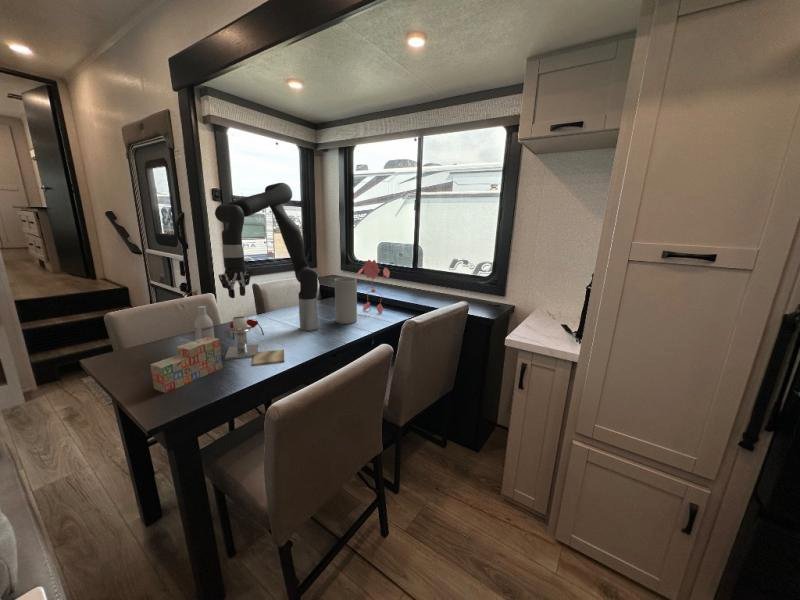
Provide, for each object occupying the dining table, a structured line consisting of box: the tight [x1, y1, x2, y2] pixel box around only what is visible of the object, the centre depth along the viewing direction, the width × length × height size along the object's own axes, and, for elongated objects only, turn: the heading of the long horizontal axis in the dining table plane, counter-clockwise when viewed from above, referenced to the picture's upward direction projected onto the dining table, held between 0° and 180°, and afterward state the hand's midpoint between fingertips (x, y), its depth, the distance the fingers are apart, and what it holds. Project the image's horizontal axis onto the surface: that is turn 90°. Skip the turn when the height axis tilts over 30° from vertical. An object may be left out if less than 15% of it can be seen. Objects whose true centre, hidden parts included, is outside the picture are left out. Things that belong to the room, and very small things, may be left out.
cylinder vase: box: [334, 277, 358, 325], centre depth 184 cm, size 12×12×25 cm
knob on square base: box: [224, 326, 259, 361], centre depth 136 cm, size 12×12×11 cm
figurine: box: [355, 259, 391, 318], centre depth 199 cm, size 15×26×35 cm, turn 61°
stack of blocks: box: [150, 337, 223, 394], centre depth 114 cm, size 21×6×12 cm, turn 157°
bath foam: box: [193, 305, 215, 340], centre depth 137 cm, size 7×7×20 cm
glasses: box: [229, 318, 265, 340], centre depth 162 cm, size 14×16×5 cm
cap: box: [232, 315, 248, 331], centre depth 135 cm, size 5×7×6 cm
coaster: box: [251, 348, 285, 366], centre depth 133 cm, size 12×12×1 cm
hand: (237, 296), depth 132 cm, fingers open, 4 cm apart
